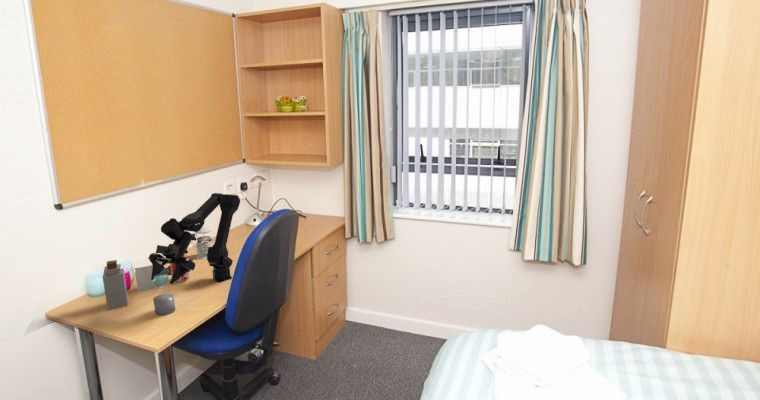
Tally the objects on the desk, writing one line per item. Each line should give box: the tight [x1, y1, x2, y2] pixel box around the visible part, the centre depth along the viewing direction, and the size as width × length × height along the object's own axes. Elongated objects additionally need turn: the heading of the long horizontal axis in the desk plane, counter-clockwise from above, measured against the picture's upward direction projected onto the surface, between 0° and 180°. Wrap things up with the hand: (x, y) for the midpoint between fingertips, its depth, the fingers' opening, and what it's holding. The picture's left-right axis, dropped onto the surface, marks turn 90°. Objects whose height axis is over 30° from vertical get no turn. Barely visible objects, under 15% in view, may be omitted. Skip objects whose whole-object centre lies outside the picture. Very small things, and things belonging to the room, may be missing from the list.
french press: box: [190, 225, 214, 260], centre depth 226 cm, size 10×12×25 cm
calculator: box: [160, 265, 172, 277], centre depth 208 cm, size 9×12×3 cm
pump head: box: [149, 274, 170, 290], centre depth 166 cm, size 7×5×5 cm, turn 160°
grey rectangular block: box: [134, 264, 157, 293], centre depth 190 cm, size 4×7×10 cm, turn 118°
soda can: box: [169, 254, 190, 283], centre depth 198 cm, size 7×7×12 cm
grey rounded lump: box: [153, 293, 176, 317], centre depth 170 cm, size 7×7×6 cm
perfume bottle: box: [102, 259, 129, 310], centre depth 174 cm, size 7×7×18 cm
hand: (161, 281), depth 168 cm, fingers open, 9 cm apart
